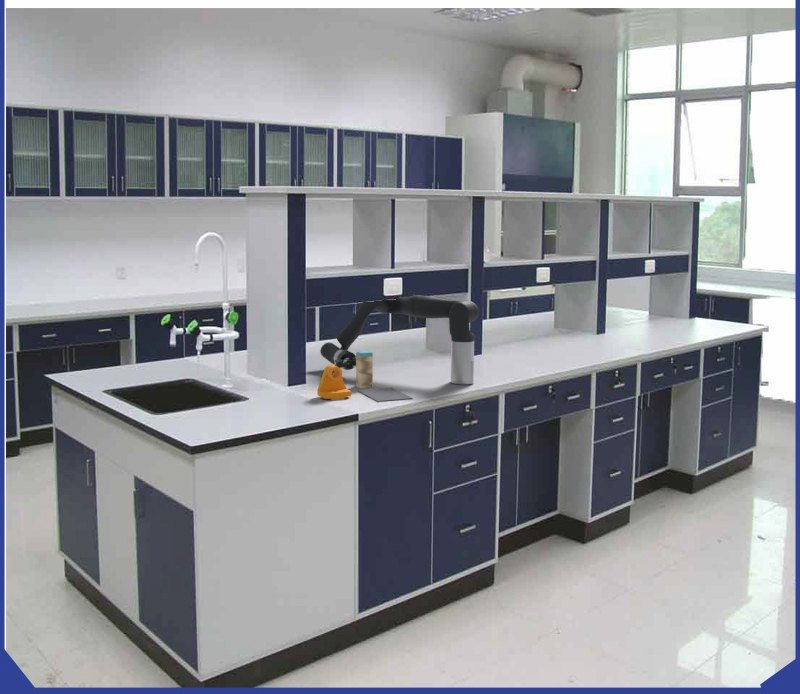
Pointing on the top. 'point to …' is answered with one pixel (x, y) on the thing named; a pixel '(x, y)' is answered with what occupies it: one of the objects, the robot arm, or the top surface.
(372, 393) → the rubber mat
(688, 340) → the top surface
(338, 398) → the bracket
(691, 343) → the top surface
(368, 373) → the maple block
